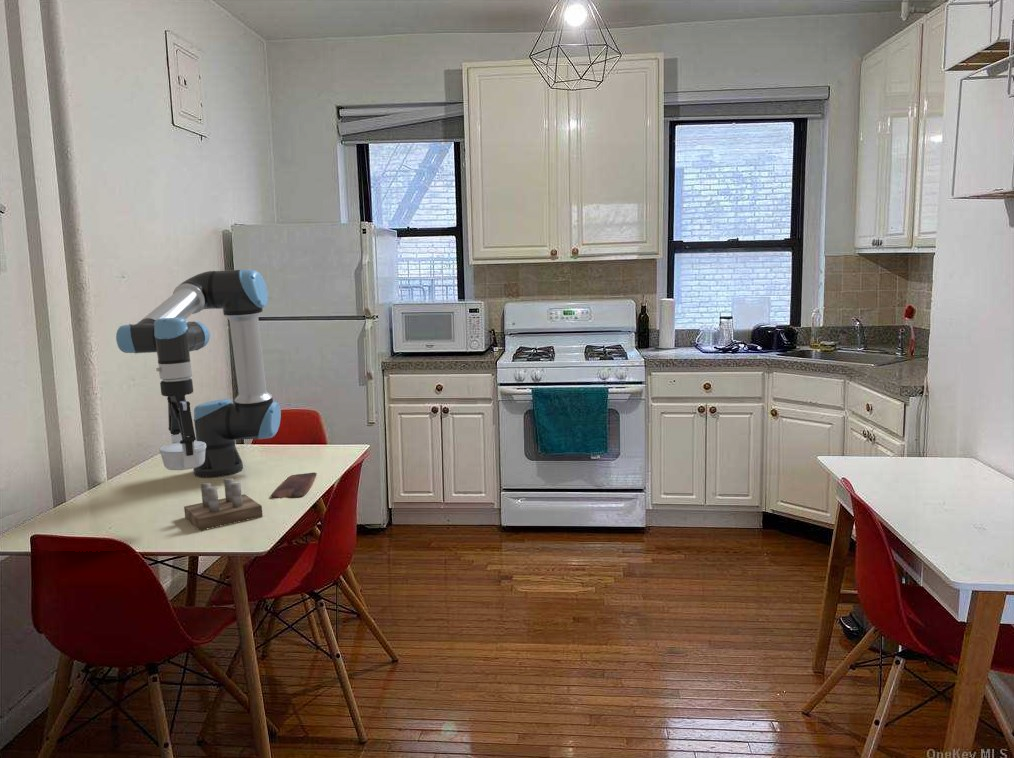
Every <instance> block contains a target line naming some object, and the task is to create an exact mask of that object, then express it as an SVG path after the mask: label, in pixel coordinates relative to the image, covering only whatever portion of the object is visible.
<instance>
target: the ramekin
mask: <svg viewBox="0 0 1014 758" xmlns="http://www.w3.org/2000/svg"><path fill="white" fill-rule="evenodd" d="M194 449H195V459H196V467H199V466H201V465H202V464H203V463H204V461H205V449H206V443H204V442H201V441H196V440H195V441H194ZM159 454H160V456H161V459H162V463H163V466H164V468H165V469H167V470H168V471H185V470H187V471H188V470H192V469H193V468H196V467H193V468H188V469H184V460H183V451H182V444H180V442H178V443H173V444H172V443H169V444H165V445H163V446H161V447H160V448H159Z"/></svg>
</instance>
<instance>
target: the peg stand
mask: <svg viewBox="0 0 1014 758" xmlns="http://www.w3.org/2000/svg"><path fill="white" fill-rule="evenodd" d="M234 481H235V480H234V478H233V477H231V478H225V479H224V480H223V484H224V485H223V486H224V493H225V495H224V496H225V497H224V498H220V499H219V496H218V495H219V494H218V487H215V486H214V487H212V485H211V482H203V483H200V490H201V491H200V492H201V499H202V502H200V503H196V504H189V505H184V506H183V511H184V518H185V519H186V520H187V521H188V520H189V521H188V522H189V523H190V524H191V525H192V526H194V527H195V528H196V529H197V528H198V529H199V530H201V531H204V530H203V529H205V530H208V529H207V528H210V529H213V528H212V527H214V528H217V527H216V526H219V527H221V526H220V525H223V526H225V525H224V524H228V525H230V524H229V523H232V524H235V523H234V522H237V523H239V522H238V521H241V522H244V521H243V520H246V521H248V520H247V519H250V520H252V519H251V518H255V519H258V517H259V518H263V507H262V506H263V505H262V504H260V503H258V502H257V501H255V500H254V499H252V498H251V497H249V496H248V495H247V494H243V493H242V485H241V482H234ZM198 529H197V530H198ZM199 530H198V531H199Z"/></svg>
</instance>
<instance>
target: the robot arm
mask: <svg viewBox="0 0 1014 758" xmlns="http://www.w3.org/2000/svg"><path fill="white" fill-rule="evenodd" d="M268 298H269V294H268V288H267V284H266V281H265V279H264V278H263V276H262V275H261V273H259V271H257V270H254V269H231V270H230V269H229V270H209V271H204V272H200V273H198V274H196V275H193V276H190V278H188V279H186V280H185V281H184V280H183V282H181V283H180V284H178V285H177V286H176V287H175V289H174V290H173V292H172V295H170V296H168V298H167V299H166V300H164V301H163V302H162V303H161V304H159V305H158V306H157V307H156V308H154V309H153V310H152V311H150V312H149V313H148V314H147V315H146V316H145V317H143V318H142V319H141V320H139V321H138V322H137V323H135V324H131V323H129V324H123V325H121V326H119V327H118V329H117V331H116V333H115V339H116V345H117V347H118V349H119V350H120V351H121V352H123V353H124V354H125V353H126V354H135V355H136V354H148V353H149V354H150V353H156V356H157V366H158V367H157V368H156V372H158V374H159V379H160V380H161V381H160V382H159V384H160V387H159V388H160V393H161V395H162V396H163V397H166V400H167V410H168V411H167V413H168V417H167V418H168V431H169V433H170V434H171V435H170V437H171V444H173V443H178V442H180V444H182V451H183V460H184V469H187V470H189V469H188V468H193V467H196V459H195V449H194V441H201V442H204V443H206V449H205V461H204V463H203V464H202V465H201V466H199V467H196V468H193V470H192V472H193V475H194V476H195V477H197V476H199V477H198V478H217V477H218V476H220V477H225V475H226V476H230V474H231V475H234V474H237V473H239V471H240V472H241V471H242V469H243V470H244V465H243V464H244V463H243V460H242V458H241V455H240V454H239V451H238V449H237V446H236V441H237V440H263V439H272V438H273V437H275V436H276V434H277V432H278V431H279V428H280V425H281V420H282V419H281V418H282V416H281V415H282V411H281V410H282V409H281V406H280V403H278V402H276V401H274V399H273V395H272V394H271V393H269V392H268V391H267V390H268V389H267V382H266V372H265V365H264V364H265V363H264V356H263V347H262V339H261V338H262V337H261V330H260V329H261V328H260V321H259V317H260V316H261V315H262V314H263V312H264V310H263V308H265V307H266V306H267V305H268V300H269V299H268ZM211 309H212V310H215V309H216V310H217V309H222V311H223V317H226V319H228V321H229V327H230V336H231V343H232V349H233V359H234V367H235V374H236V375H235V376H236V381H237V382H236V383H237V390H238V394H237V396H236V397H235V398H234V403H233V401H232V399H231V398H222V399H215V400H210V401H207V402H203V403H200V404H198V405H195V407H194V409H193V416H192V412H191V403H190V401H187V399H186V395H191V394H193V392H194V385H193V379H192V378H191V377H192V376H193V371H192V363H191V356H190V355H191V354H190V353H191V352H193V351H196V352H197V351H199V350H201V349H203V348H205V347H206V346H207V345H208V344H209V342H210V337H211V333H210V331H209V329H208V327H207V325H205V324H204V323H202V322H200V321H187V319H188V318H189V317H190V316H191V315H193V314H194V315H195V314H197V313H200V312H201V311H203V310H211ZM193 421H194V422H193ZM218 478H219V477H218Z"/></svg>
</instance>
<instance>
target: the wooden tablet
mask: <svg viewBox="0 0 1014 758" xmlns="http://www.w3.org/2000/svg"><path fill="white" fill-rule="evenodd" d="M316 478H317V472H307V473H306V472H305V473H298V474H292V475H289V476H287V479H286V478H285V479H286V480H285V479H284V481H282V482H281V483H280V484H279V485H278V486H277V487H276V488H275V489H274V491H272V493H271V495H270V498H271V499H272V498H280V499H284V498H285V499H298V498H299V499H301V498H302V497H303V498H304V496H305V495H306V494H307V493H308V492H309V491H310V489H311V488H312V486H313V484H314V483H315V480H316Z"/></svg>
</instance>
